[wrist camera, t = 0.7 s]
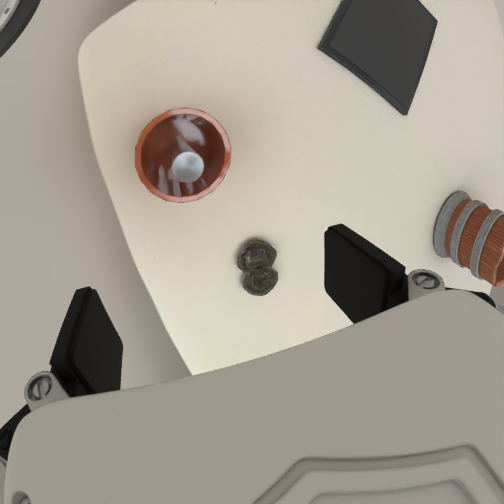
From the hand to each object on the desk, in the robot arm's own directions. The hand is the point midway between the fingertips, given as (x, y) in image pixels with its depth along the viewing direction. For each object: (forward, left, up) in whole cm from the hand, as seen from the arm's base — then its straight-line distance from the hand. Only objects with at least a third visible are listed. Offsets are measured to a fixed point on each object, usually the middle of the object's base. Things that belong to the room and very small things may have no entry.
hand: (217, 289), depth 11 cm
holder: (-2, +3, -21) cm, 22 cm away
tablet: (+15, +32, -21) cm, 42 cm away
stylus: (-2, +3, -21) cm, 21 cm away
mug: (+50, +14, -22) cm, 56 cm away
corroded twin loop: (+12, -7, -21) cm, 26 cm away
